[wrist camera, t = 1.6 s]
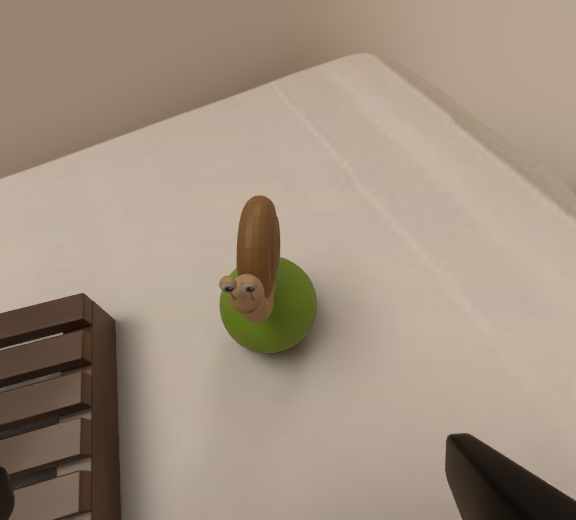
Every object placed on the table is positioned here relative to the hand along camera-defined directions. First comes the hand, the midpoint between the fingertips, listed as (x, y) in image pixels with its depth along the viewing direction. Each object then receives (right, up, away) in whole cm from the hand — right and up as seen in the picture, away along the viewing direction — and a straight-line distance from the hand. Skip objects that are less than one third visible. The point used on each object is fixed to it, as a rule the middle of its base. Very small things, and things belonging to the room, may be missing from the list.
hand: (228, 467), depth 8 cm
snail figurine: (0, 0, +16) cm, 16 cm away
